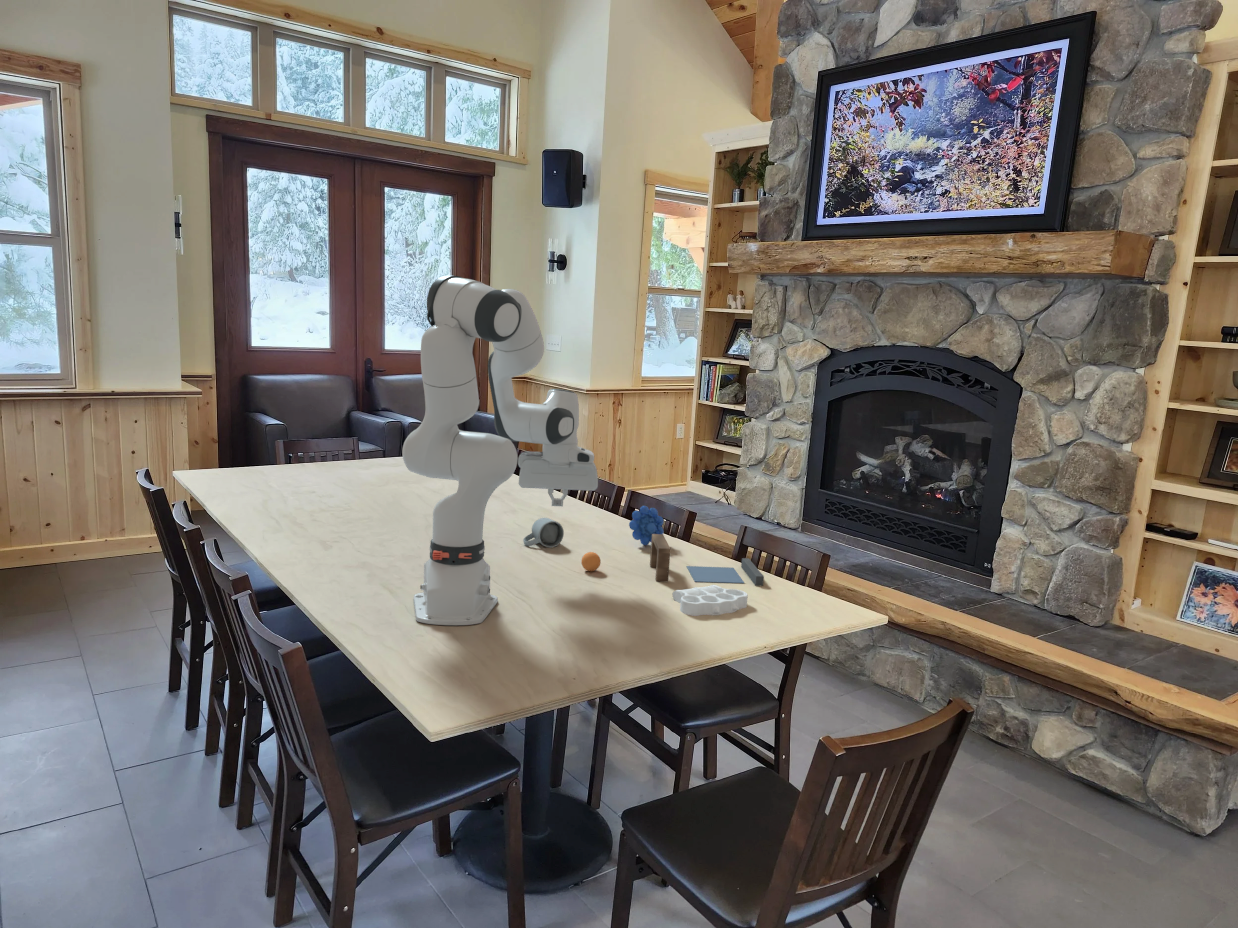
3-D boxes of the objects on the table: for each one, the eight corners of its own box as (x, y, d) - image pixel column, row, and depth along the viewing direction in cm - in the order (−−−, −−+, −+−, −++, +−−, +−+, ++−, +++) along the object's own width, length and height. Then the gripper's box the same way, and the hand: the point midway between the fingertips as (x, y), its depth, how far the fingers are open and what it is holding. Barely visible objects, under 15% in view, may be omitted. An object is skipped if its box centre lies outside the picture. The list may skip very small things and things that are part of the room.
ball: (600, 574, 216) (601, 555, 215) (581, 573, 216) (582, 554, 215) (599, 568, 221) (600, 549, 220) (580, 567, 220) (581, 549, 220)
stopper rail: (762, 585, 215) (763, 576, 214) (755, 585, 214) (756, 576, 214) (748, 567, 230) (749, 558, 230) (741, 566, 230) (741, 558, 230)
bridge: (660, 565, 227) (662, 534, 225) (668, 581, 213) (670, 548, 212) (649, 564, 227) (651, 533, 225) (656, 581, 213) (658, 548, 211)
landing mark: (744, 583, 216) (744, 582, 216) (694, 581, 214) (694, 581, 214) (733, 568, 228) (733, 567, 228) (686, 566, 227) (686, 565, 227)
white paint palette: (720, 593, 208) (759, 612, 196) (660, 602, 199) (697, 623, 187) (721, 580, 208) (760, 599, 195) (661, 588, 198) (698, 608, 186)
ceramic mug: (552, 539, 247) (553, 514, 245) (563, 546, 239) (564, 520, 238) (518, 542, 242) (519, 516, 240) (529, 550, 235) (529, 523, 233)
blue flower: (635, 550, 240) (637, 509, 238) (624, 544, 246) (626, 504, 244) (669, 547, 245) (672, 507, 243) (658, 541, 251) (661, 502, 249)
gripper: (518, 452, 208) (516, 507, 210) (600, 456, 210) (596, 510, 212) (519, 448, 214) (516, 501, 216) (598, 452, 216) (595, 504, 218)
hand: (557, 505), depth 214 cm, fingers closed
